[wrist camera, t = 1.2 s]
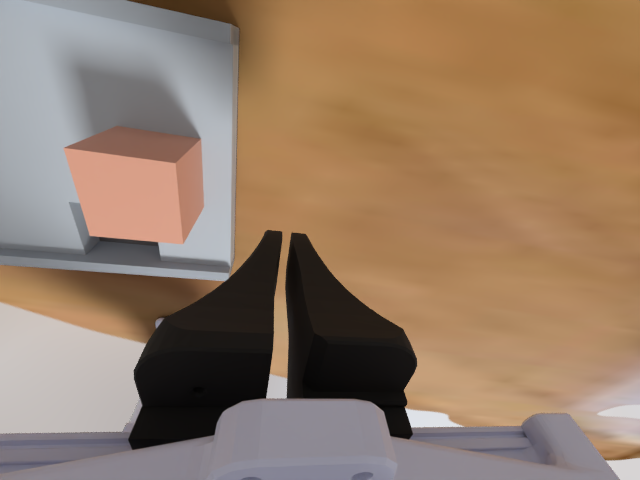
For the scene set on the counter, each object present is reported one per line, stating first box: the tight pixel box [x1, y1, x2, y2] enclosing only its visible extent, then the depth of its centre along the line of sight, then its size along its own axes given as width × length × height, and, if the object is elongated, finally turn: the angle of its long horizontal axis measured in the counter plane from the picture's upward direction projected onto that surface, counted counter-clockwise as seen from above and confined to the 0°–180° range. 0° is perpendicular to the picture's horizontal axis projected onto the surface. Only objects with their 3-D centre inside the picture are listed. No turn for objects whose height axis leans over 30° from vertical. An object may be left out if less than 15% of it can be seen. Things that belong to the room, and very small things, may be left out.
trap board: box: [0, 0, 239, 281], centre depth 16 cm, size 16×22×3 cm
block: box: [64, 126, 204, 244], centre depth 16 cm, size 4×4×4 cm
